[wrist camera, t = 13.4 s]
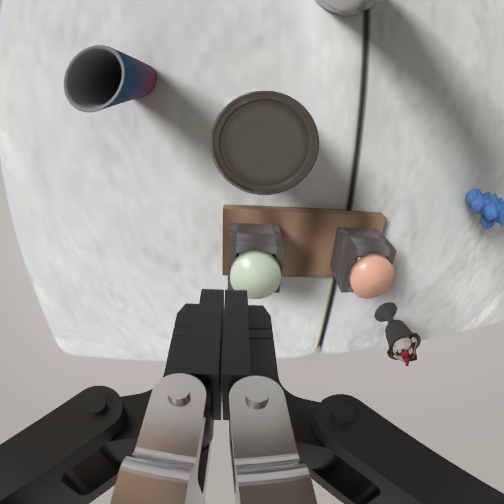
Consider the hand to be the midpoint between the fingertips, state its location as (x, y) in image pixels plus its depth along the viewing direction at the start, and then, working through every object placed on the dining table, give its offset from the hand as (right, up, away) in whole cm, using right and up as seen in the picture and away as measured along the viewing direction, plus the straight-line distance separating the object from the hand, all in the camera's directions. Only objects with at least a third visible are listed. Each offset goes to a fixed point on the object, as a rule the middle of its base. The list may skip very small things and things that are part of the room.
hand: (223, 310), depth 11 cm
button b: (+17, +2, +36) cm, 40 cm away
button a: (+1, +2, +35) cm, 35 cm away
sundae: (+28, -10, +47) cm, 56 cm away
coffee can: (+2, +19, +30) cm, 35 cm away
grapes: (+41, +12, +36) cm, 56 cm away
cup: (-14, +26, +25) cm, 39 cm away
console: (+9, +4, +38) cm, 40 cm away
